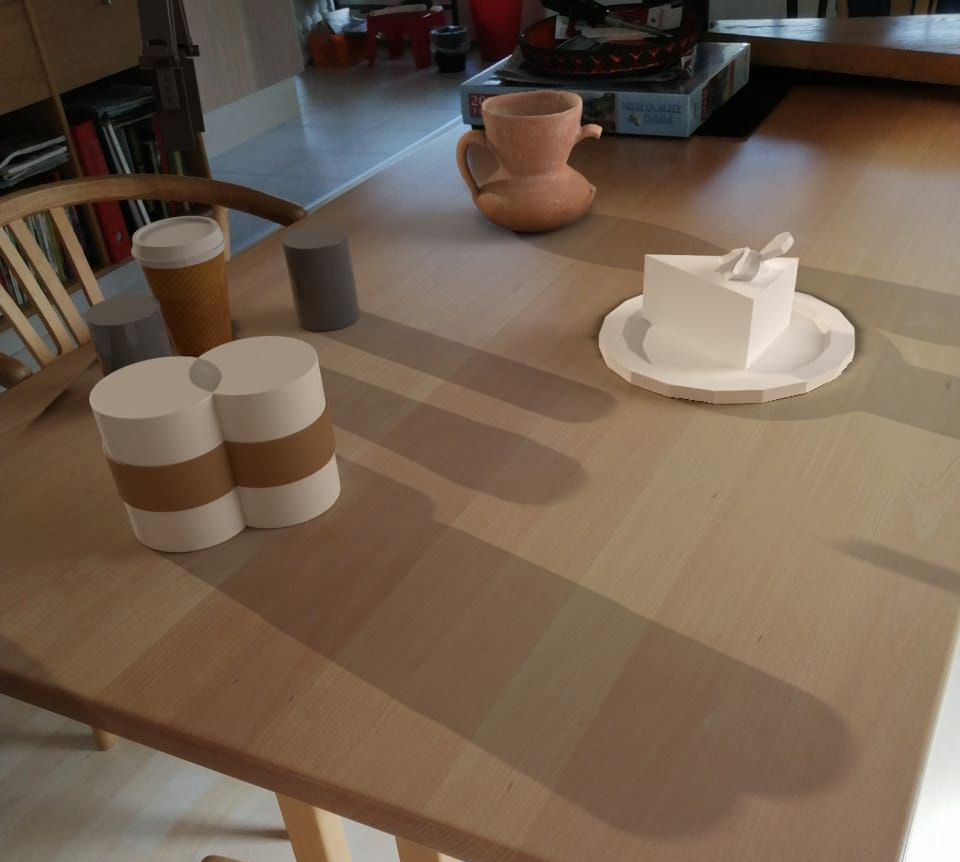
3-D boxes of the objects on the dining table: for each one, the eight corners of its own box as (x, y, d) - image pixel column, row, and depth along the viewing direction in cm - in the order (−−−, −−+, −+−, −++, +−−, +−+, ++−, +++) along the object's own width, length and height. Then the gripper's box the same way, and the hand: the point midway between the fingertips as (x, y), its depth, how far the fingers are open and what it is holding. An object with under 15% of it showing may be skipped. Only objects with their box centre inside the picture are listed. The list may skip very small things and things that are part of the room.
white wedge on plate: (887, 319, 106) (910, 205, 99) (794, 428, 91) (814, 304, 84) (668, 277, 117) (675, 173, 110) (554, 369, 102) (552, 255, 95)
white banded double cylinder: (109, 549, 84) (61, 417, 76) (181, 456, 94) (145, 331, 86) (306, 563, 80) (276, 426, 73) (357, 465, 91) (336, 336, 83)
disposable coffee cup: (143, 345, 113) (110, 233, 105) (219, 316, 117) (193, 207, 109) (187, 371, 107) (155, 256, 99) (264, 340, 112) (240, 228, 104)
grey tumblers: (99, 398, 104) (70, 312, 98) (333, 299, 119) (321, 219, 113) (135, 420, 100) (107, 332, 94) (373, 315, 115) (361, 233, 109)
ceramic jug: (602, 200, 138) (603, 82, 129) (599, 240, 127) (600, 115, 118) (468, 204, 140) (460, 88, 131) (454, 244, 129) (444, 121, 120)
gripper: (169, -155, 77) (219, 156, 89) (194, -125, 98) (231, 124, 110) (66, -152, 76) (129, 162, 88) (112, -122, 97) (159, 128, 109)
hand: (186, 141), depth 99 cm, fingers open, 13 cm apart
